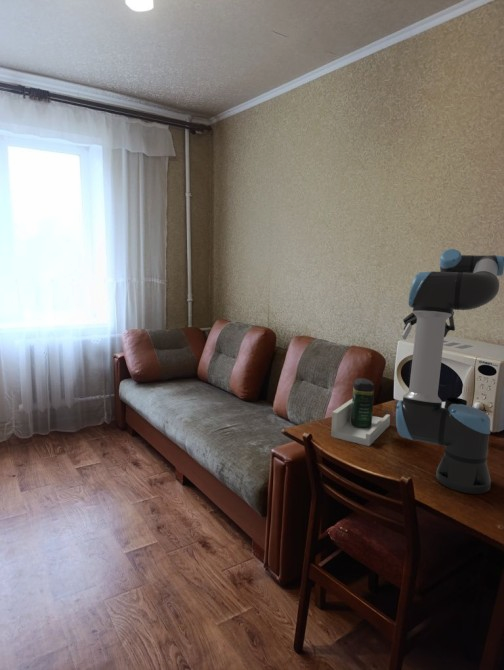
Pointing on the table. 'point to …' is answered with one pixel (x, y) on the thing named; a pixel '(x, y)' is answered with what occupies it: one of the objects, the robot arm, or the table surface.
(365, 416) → the coffee jar
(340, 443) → the table surface
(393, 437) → the table surface
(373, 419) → the channel shelf
